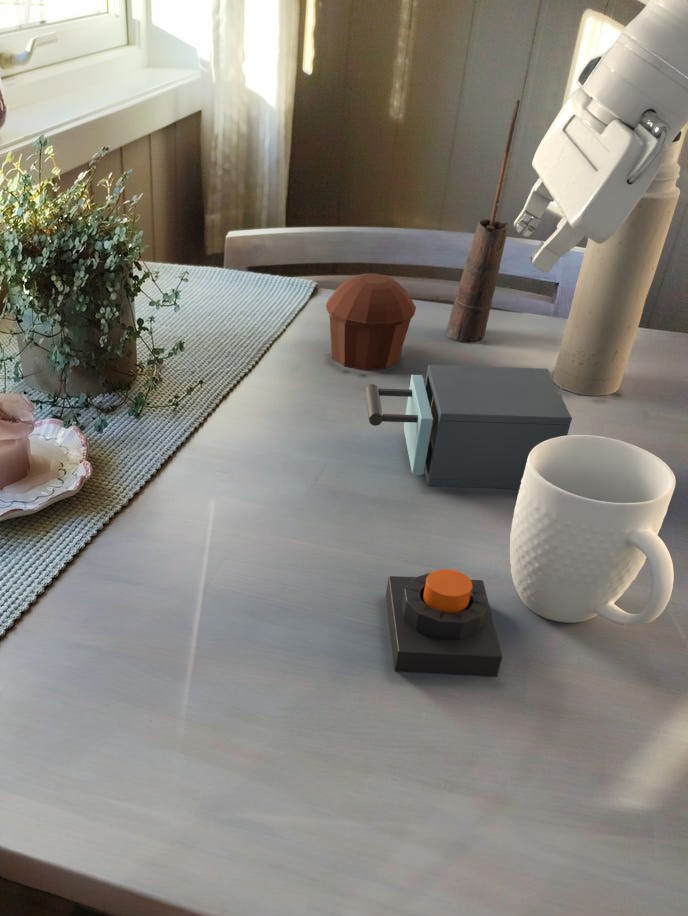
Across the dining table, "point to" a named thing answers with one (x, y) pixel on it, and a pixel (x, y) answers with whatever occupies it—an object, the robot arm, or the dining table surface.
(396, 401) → the dining table surface
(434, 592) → the button
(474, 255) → the butter churn
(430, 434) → the tray
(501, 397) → the dispenser
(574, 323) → the thermos bottle
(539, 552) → the mug
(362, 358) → the muffin
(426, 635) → the control block
